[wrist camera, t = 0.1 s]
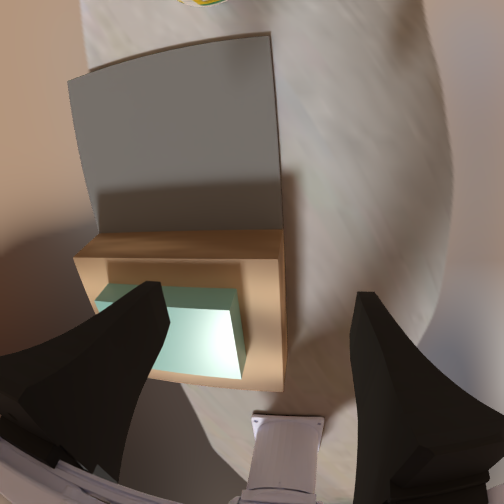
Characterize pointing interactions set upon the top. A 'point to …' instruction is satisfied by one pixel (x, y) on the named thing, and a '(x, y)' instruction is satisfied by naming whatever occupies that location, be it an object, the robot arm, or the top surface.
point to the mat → (182, 139)
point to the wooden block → (206, 276)
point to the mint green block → (196, 330)
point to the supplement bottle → (202, 2)
